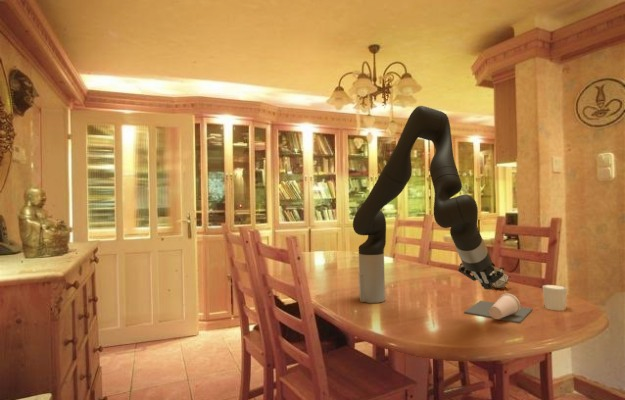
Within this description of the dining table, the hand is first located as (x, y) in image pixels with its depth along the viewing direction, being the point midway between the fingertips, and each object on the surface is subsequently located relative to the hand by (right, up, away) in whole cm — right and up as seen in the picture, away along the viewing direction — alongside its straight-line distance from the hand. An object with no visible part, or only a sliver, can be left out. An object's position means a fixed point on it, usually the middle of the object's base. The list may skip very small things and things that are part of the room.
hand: (488, 286), depth 111 cm
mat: (+7, -10, +7) cm, 14 cm away
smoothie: (+1, -7, -3) cm, 8 cm away
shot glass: (+27, -9, +9) cm, 30 cm away
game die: (+22, -10, +37) cm, 44 cm away
